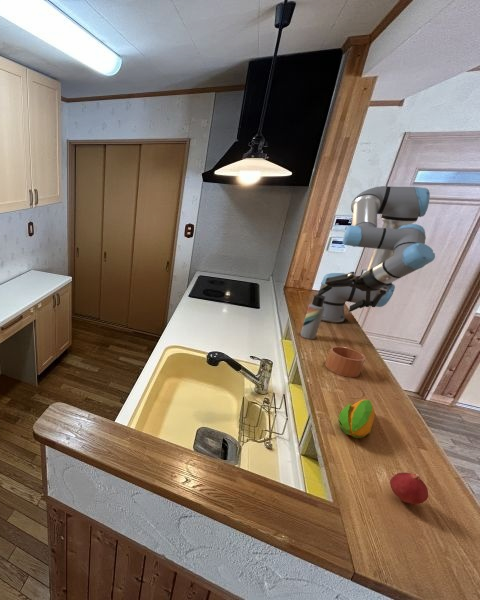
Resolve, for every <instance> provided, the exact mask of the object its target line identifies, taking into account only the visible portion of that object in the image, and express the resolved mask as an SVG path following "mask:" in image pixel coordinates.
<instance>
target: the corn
mask: <svg viewBox="0 0 480 600" xmlns="http://www.w3.org/2000/svg"><path fill="white" fill-rule="evenodd" d="M375 416H376V413H375V408H374V404H373V402H372V401H371V400H370V399H367V398H366V399H365V398H362V399H360V400H358V401H357V402H355V403H354V404H352V403H348V404H347V405H346V406H345V407H343V409H342V410H341V411H340V412H339V415H338V423H339V427H340V429H341V430H342V432H343V433H344V434H345V435H349V436H350V437H352V438H357V439H361V438H366V437H368V436H370V433H371V431H372V428H373V424H374V420H375Z"/></svg>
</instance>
